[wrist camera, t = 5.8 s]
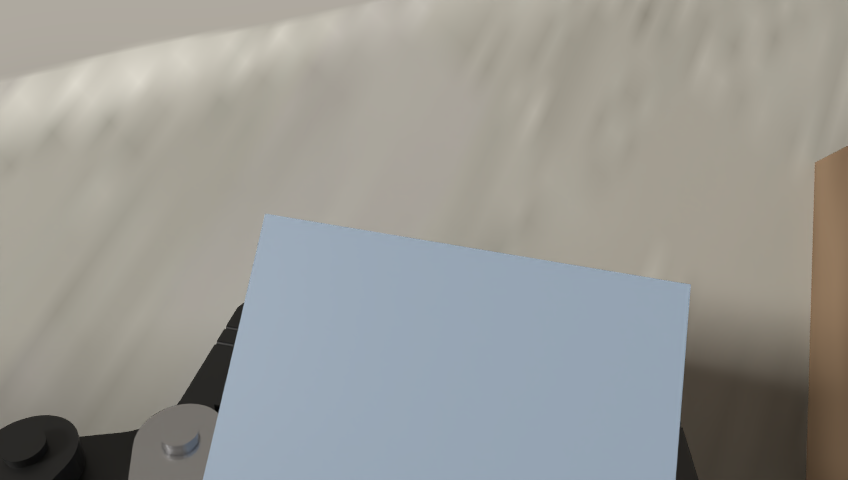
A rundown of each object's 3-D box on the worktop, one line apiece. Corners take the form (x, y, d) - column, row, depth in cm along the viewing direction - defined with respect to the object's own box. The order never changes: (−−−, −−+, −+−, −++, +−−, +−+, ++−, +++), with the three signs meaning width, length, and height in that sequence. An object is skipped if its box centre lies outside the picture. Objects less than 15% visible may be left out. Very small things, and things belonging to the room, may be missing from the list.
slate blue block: (324, 485, 16) (153, 688, 6) (360, 301, 17) (265, 213, 7) (509, 519, 15) (651, 789, 6) (533, 331, 16) (691, 284, 7)
